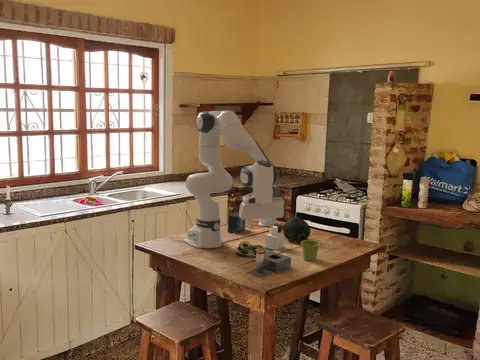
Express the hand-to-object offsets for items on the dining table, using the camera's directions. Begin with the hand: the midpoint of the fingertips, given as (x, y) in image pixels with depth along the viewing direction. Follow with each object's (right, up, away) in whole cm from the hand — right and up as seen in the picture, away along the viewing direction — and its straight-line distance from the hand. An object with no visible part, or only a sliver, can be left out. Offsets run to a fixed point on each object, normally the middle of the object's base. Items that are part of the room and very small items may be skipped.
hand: (260, 227), depth 215 cm
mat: (0, -21, +4) cm, 21 cm away
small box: (-11, -9, +69) cm, 71 cm away
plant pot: (+25, -18, +23) cm, 39 cm away
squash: (+22, -13, +54) cm, 60 cm away
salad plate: (-3, -16, +32) cm, 36 cm away
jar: (+7, -7, +85) cm, 86 cm away
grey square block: (+7, -20, +11) cm, 23 cm away
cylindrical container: (0, -20, +3) cm, 21 cm away
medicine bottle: (+9, -15, +41) cm, 44 cm away
